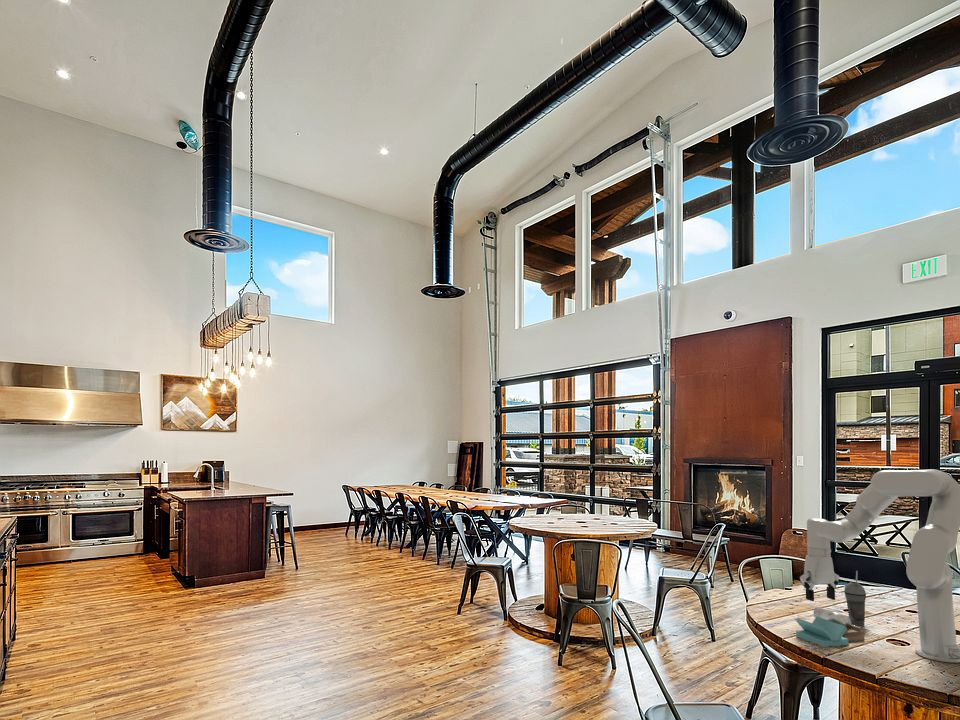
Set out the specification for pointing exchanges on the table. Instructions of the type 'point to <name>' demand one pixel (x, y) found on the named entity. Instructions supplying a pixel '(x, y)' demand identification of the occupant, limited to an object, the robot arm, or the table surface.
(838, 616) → the axle
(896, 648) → the table surface
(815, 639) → the v block
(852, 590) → the beverage cup
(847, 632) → the tan stepped block
